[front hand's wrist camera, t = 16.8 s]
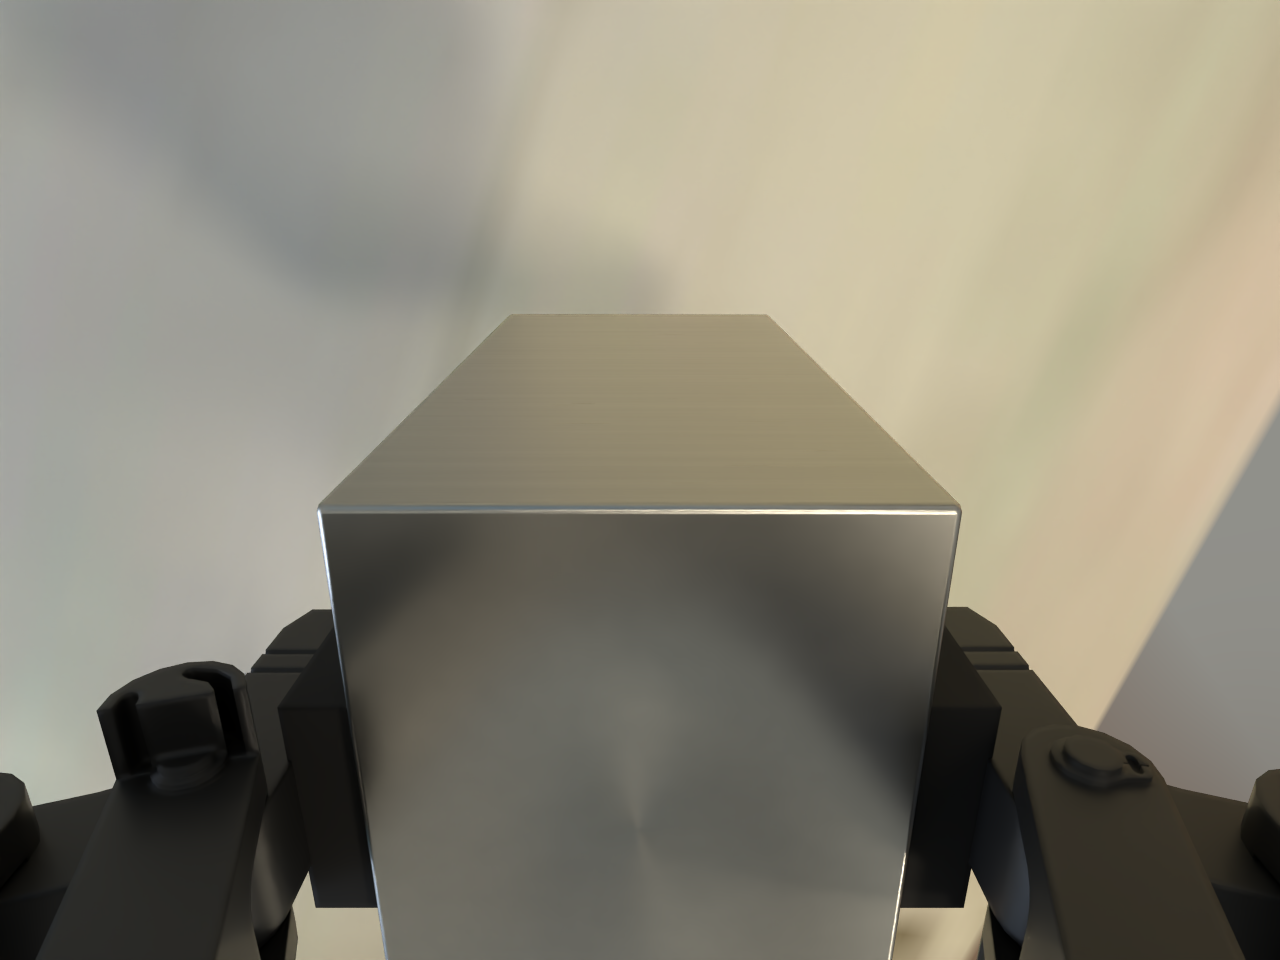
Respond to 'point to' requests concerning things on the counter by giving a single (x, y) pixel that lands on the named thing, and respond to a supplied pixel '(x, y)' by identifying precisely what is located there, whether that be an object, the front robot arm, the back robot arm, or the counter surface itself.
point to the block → (639, 649)
